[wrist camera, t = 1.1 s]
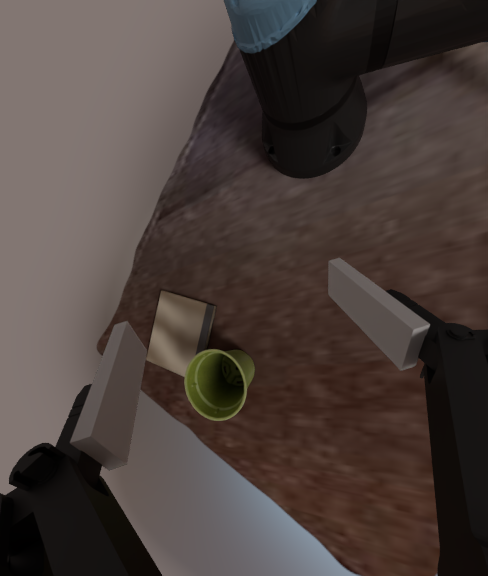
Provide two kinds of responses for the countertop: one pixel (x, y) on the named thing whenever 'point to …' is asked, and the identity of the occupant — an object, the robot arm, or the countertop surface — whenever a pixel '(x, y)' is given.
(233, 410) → the plant pot
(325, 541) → the countertop surface
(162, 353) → the board
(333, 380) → the countertop surface
